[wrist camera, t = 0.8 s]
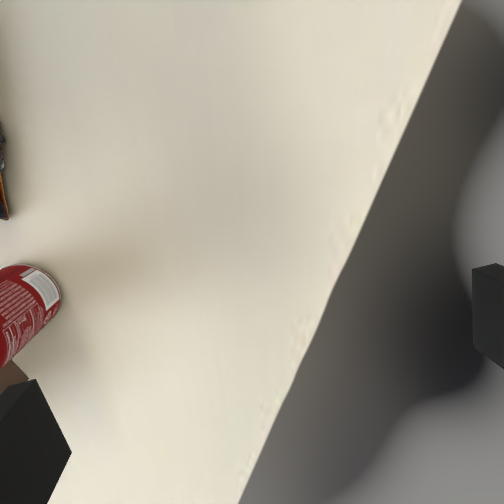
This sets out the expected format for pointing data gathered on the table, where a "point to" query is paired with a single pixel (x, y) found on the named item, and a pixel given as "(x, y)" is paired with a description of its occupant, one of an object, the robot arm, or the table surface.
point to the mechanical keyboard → (0, 203)
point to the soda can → (24, 306)
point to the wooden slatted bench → (11, 376)
